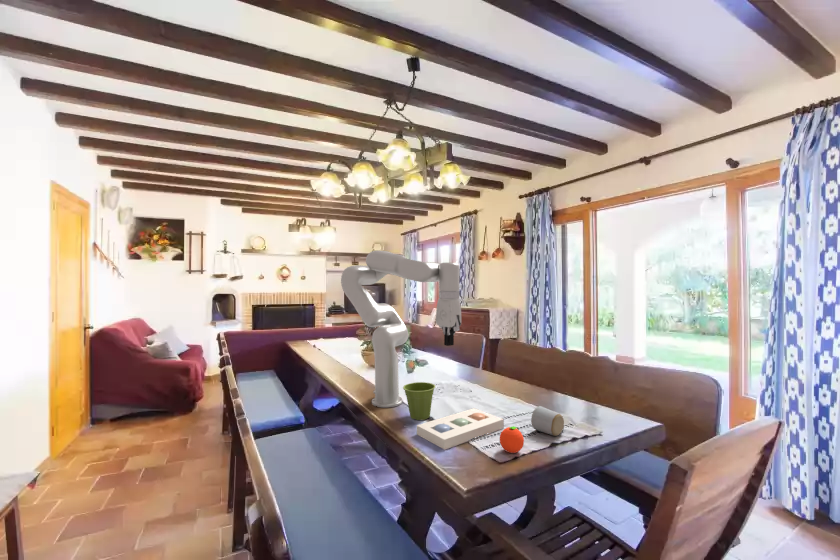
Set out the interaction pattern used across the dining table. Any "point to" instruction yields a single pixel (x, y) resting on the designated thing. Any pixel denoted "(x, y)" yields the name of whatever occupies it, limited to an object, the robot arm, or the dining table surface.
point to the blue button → (442, 428)
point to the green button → (461, 422)
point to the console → (459, 428)
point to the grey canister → (547, 421)
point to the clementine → (511, 439)
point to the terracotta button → (478, 416)
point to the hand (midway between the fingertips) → (448, 345)
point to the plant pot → (419, 399)
